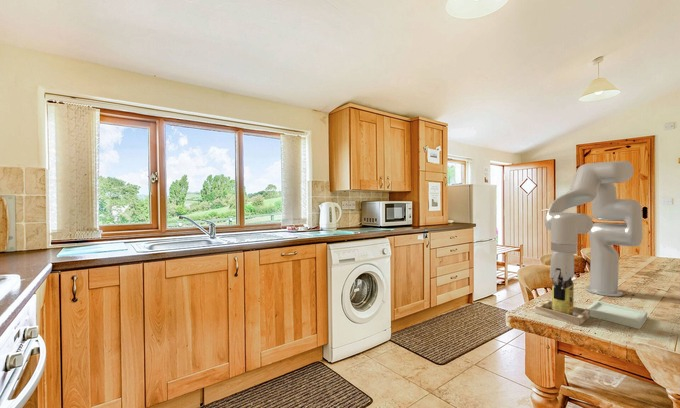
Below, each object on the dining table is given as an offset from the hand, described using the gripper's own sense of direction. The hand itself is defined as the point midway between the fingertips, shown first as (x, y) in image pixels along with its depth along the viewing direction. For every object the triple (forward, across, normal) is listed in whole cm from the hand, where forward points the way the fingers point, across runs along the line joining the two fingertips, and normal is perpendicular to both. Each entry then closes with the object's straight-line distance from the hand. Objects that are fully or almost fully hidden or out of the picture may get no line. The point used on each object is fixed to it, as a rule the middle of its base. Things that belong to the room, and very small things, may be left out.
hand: (562, 297), depth 107 cm
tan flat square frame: (+7, 0, 0) cm, 7 cm away
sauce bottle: (+7, 0, 0) cm, 7 cm away
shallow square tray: (+7, -14, +12) cm, 20 cm away
